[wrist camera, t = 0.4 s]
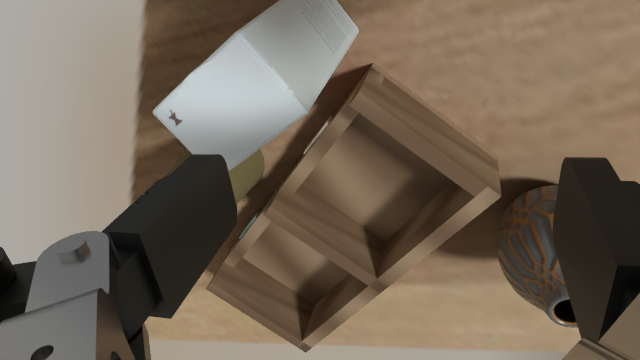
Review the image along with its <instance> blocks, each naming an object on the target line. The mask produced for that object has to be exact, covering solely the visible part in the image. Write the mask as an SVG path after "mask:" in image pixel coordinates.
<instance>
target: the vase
mask: <svg viewBox="0 0 640 360" xmlns="http://www.w3.org/2000/svg"><path fill="white" fill-rule="evenodd" d="M557 192H558V185H553V186H543V187H538V188H535V189H532V190H530V191H527V192H525V193H523V194H522V195H520V196H519V197H517V198H516V199H515V200H514V201H513V202H512V203H511V204H510V205H509V206H508V208H507V209H506V210H505V212H504V214H503V216H502V218H501V220H500V223H499V226H498V230H497V241H496V243H497V255H498V260H499V263H500V266H501V268H502V271H503V273H504V275H505V277H506V278H507V280H508V282H509V283H510V285H511V286H512V287H513V289H514V290H515V291H516V292H517V293H518V294H519V295H520V296H521V297H522V298H524V299H525V300H526V301H528V302H529V303H531V304H532V305H534V306H536V307H538V308H539V309H541V310H543V311H544V312H545V313H546V314H547V315H548V316H549V318H550V319H551V320H552V321H554V322H555V323H557V324H559V325H561V326H565V327H573V328H574V327H578V325H577V322H576V318H575V315H574V312H573V308H572V305H571V301H570V298H569V295H568V291H567V288H566V285H565V281H564V278H563V275H562V271H561V268H560V265H559V261H558V258H557V254H556V251H555V248H554V243H553V217H554V211H555V205H556V198H557Z"/></svg>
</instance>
